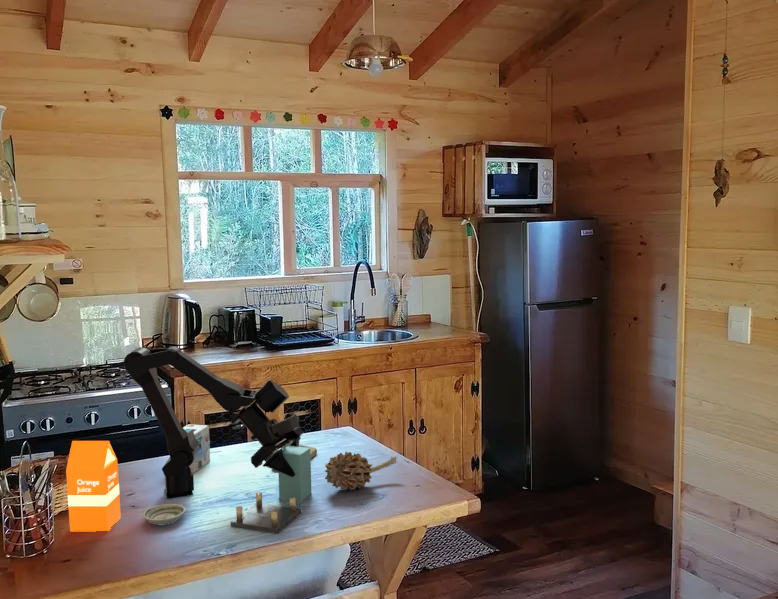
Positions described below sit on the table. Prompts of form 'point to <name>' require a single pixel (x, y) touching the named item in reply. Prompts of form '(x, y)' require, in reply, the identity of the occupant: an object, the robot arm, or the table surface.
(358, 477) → the pine cone
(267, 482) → the table surface
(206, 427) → the light bulb box
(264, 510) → the plate
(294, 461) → the teal block
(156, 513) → the saucer
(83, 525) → the orange juice
